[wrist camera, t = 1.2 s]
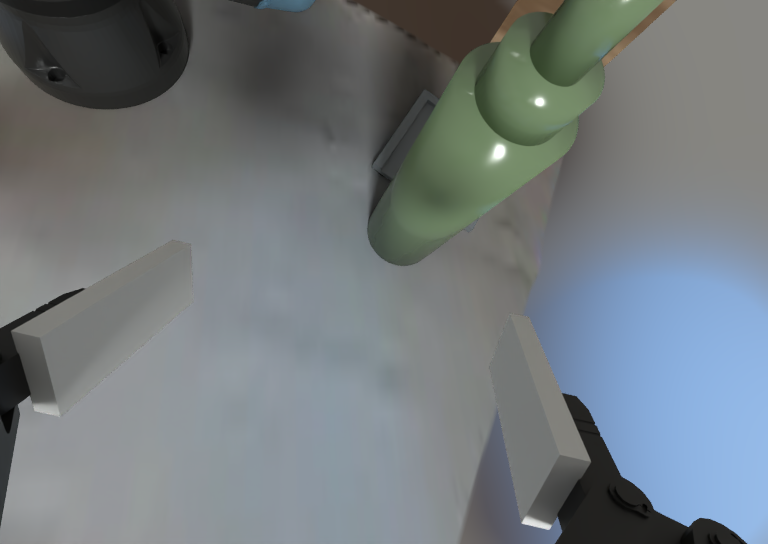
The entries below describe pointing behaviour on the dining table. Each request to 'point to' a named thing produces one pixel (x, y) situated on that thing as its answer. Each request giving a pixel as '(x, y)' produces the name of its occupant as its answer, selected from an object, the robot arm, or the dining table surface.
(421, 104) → the seat pad
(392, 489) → the dining table surface
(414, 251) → the wine bottle
